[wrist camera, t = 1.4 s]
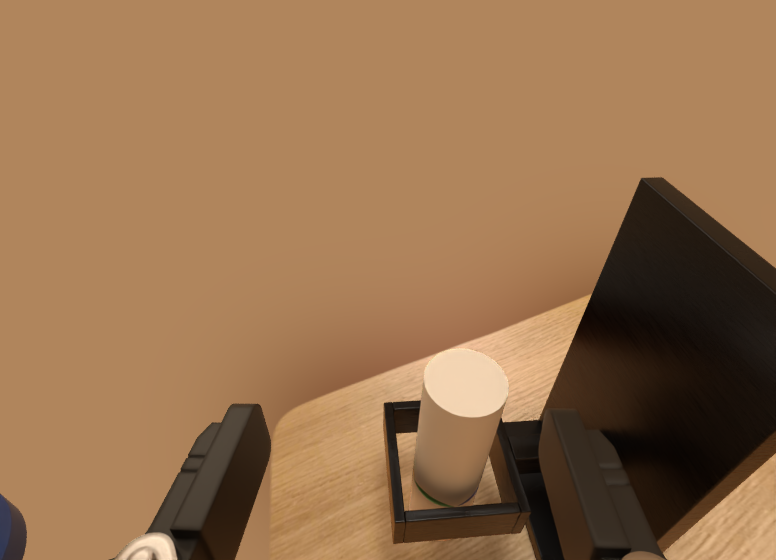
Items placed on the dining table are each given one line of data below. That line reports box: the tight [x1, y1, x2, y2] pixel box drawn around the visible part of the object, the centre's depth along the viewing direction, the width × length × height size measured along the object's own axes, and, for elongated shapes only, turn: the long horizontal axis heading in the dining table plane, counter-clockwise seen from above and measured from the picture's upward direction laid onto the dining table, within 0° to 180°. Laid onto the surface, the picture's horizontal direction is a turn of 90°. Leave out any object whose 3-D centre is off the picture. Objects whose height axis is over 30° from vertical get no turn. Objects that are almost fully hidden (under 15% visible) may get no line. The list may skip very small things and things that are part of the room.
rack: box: [383, 178, 776, 560], centre depth 25 cm, size 18×12×23 cm
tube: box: [409, 348, 509, 541], centre depth 27 cm, size 4×4×15 cm
